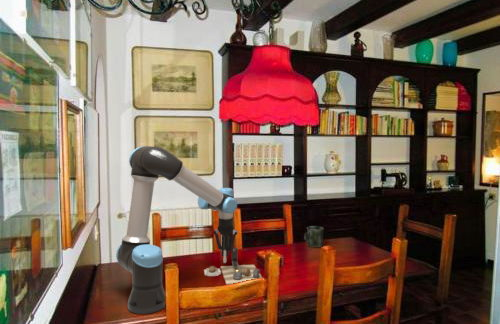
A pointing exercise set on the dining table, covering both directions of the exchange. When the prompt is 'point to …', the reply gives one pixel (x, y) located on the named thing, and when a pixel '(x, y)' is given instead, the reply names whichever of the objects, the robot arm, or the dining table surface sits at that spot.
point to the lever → (236, 263)
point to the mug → (314, 236)
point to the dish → (212, 273)
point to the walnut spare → (212, 269)
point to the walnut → (246, 271)
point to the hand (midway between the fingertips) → (225, 262)
